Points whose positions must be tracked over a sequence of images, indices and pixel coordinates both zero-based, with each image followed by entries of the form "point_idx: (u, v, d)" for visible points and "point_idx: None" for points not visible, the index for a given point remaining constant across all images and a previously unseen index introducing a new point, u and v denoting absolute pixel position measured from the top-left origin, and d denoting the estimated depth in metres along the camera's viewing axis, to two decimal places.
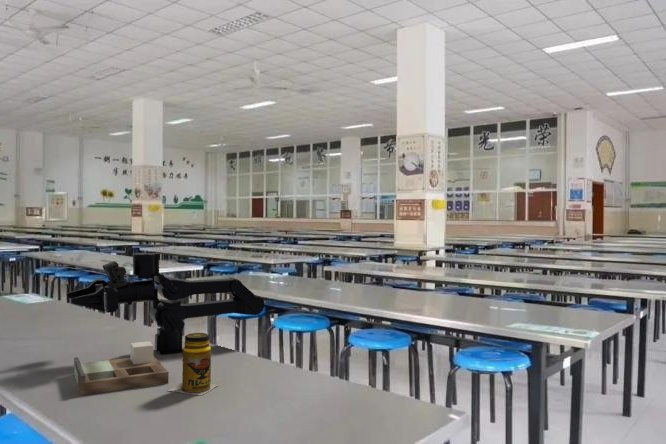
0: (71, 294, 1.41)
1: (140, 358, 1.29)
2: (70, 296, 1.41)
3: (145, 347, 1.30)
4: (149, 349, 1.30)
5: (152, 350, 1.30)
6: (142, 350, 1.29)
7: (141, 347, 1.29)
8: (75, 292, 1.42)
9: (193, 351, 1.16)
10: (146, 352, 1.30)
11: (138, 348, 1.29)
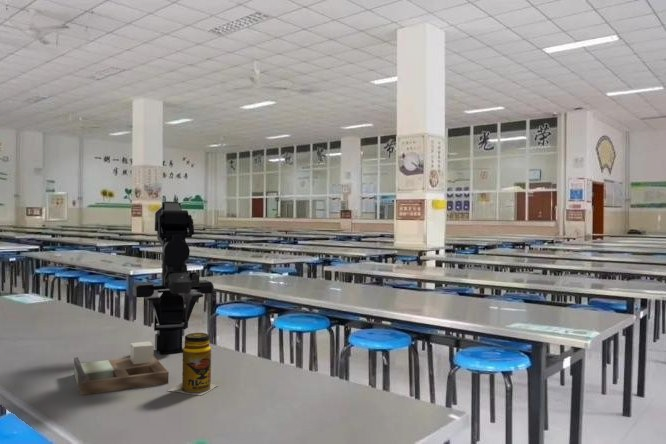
0: (160, 320, 1.33)
1: (140, 358, 1.29)
2: None
3: (145, 347, 1.30)
4: (149, 349, 1.30)
5: (152, 350, 1.30)
6: (142, 350, 1.29)
7: (141, 347, 1.29)
8: (160, 316, 1.33)
9: (193, 351, 1.16)
10: (146, 352, 1.30)
11: (138, 348, 1.29)
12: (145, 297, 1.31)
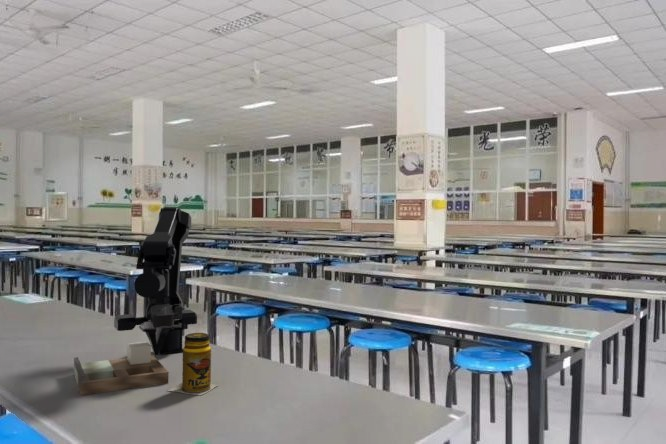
0: None
1: (138, 359, 1.29)
2: None
3: (142, 347, 1.29)
4: (147, 350, 1.30)
5: (149, 350, 1.30)
6: (139, 350, 1.29)
7: (138, 347, 1.29)
8: None
9: (193, 351, 1.16)
10: (143, 352, 1.29)
11: (136, 348, 1.28)
12: (141, 328, 1.31)
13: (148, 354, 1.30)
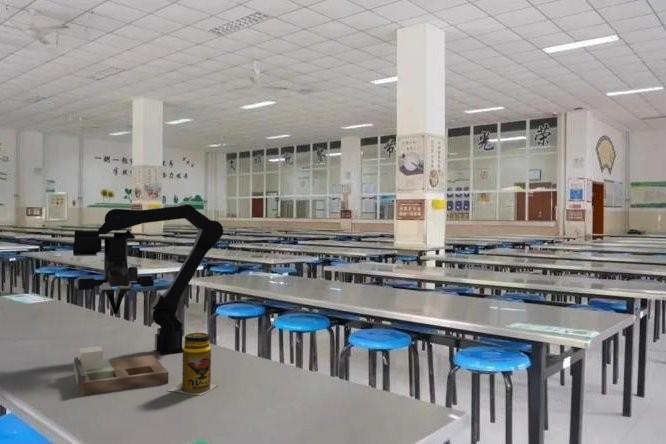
0: None
1: (89, 364, 1.23)
2: None
3: (94, 353, 1.24)
4: (98, 355, 1.24)
5: (101, 356, 1.25)
6: (90, 356, 1.23)
7: (89, 353, 1.23)
8: (115, 306, 1.44)
9: (193, 351, 1.16)
10: (95, 358, 1.24)
11: (87, 353, 1.23)
12: (100, 289, 1.43)
13: (100, 359, 1.24)
